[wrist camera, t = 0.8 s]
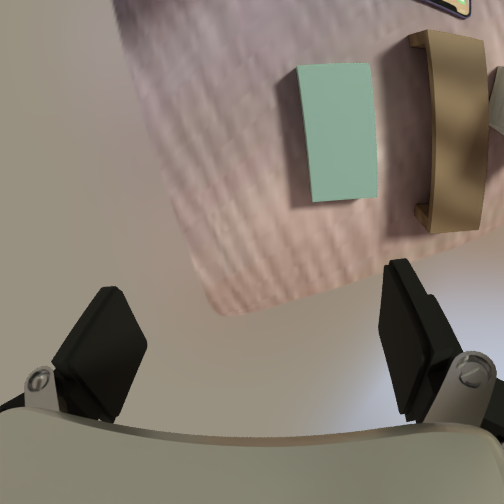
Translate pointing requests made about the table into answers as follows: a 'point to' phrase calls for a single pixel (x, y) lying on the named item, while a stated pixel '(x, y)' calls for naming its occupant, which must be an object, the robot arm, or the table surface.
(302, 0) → the table surface
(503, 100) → the supplement box
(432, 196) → the walnut stand
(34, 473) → the robot arm
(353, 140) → the mint green tile
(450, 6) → the smartphone
